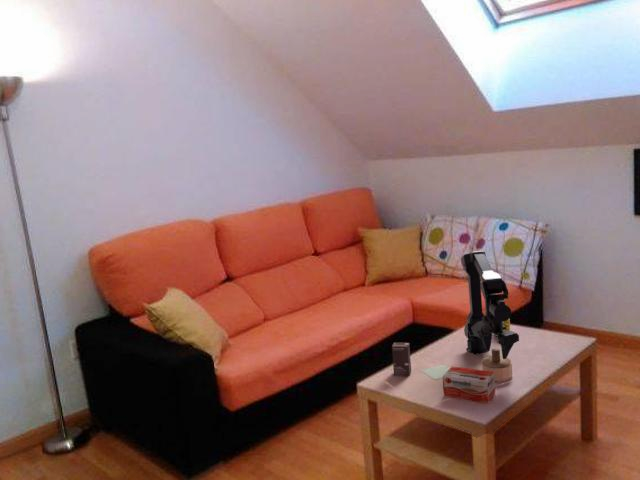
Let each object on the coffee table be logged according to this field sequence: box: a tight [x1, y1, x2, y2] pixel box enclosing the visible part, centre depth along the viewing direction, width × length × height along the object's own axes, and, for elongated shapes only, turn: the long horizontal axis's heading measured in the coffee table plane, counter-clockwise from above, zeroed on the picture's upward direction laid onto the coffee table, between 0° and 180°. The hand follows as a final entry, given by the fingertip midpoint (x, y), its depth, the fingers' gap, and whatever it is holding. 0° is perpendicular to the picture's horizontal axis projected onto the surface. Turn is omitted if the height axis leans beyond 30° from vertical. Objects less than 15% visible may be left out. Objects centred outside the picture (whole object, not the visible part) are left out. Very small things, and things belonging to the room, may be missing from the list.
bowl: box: [481, 362, 513, 382], centre depth 209 cm, size 10×10×5 cm
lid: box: [481, 348, 512, 368], centre depth 208 cm, size 10×10×5 cm
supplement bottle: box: [495, 317, 511, 337], centre depth 248 cm, size 7×7×13 cm
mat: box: [420, 364, 451, 380], centre depth 217 cm, size 10×10×1 cm
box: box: [391, 341, 412, 377], centre depth 217 cm, size 6×4×12 cm
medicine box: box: [442, 366, 496, 405], centre depth 196 cm, size 15×8×8 cm, turn 57°
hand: (496, 354), depth 208 cm, fingers open, 9 cm apart
